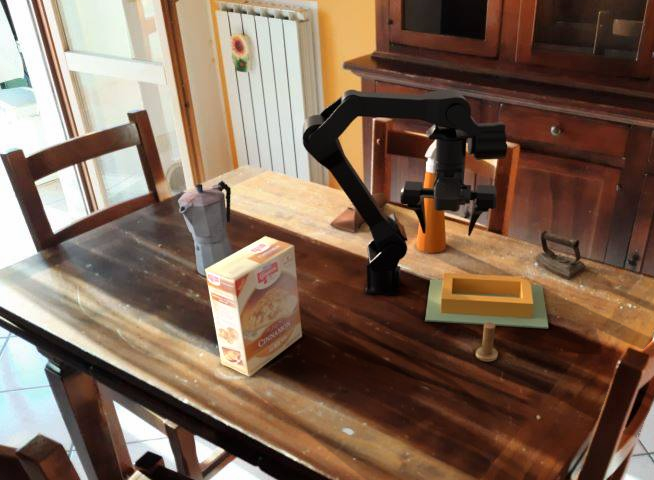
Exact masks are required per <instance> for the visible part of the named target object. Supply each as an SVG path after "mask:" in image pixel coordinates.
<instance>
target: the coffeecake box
mask: <svg viewBox="0 0 654 480" xmlns="http://www.w3.org/2000/svg"><path fill="white" fill-rule="evenodd" d="M205 272H206V276H205V277H206V284H207V287H208V288H207V289H208V293H209V299H210V304H211V310H212V316H213V322H214V327H215V334H216V339H217V344H218V350H219V356H220V361H221V365H223V366H225V367H227V368H230V369H232V370H235V371H236V372H238V373H240V374H242V375H245V376H247V377H252V376H253V375H254V374H256V373H257V372H258V371H259V370H260V369H262V368H263V367H264V366H266V365H267V364H268V363H270V362H271V361H272V360H274V359H275V358H276V357H277V356H279V355H280V354H281V353H283V352H284V351H285V350H286V349H288V348H289V347H290V346H292V345H293V344H294V343H295V342H297V341H298V340H300V339H301V338H302V337H303V331H302V320H301V311H300V298H299V286H298V275H297V263H296V254H295V245H293V244H291V243H289V242H285V241H282V240H278V239H276V238H272V237H269V236H267V235H264V236H263V237H261V238H260V239H258V240H256V241H254V242H252V243H251V244H249V245H246V246H245V247H243V248H242V249H240V250H237V251H235V252H234V254H232V255H231V256H229V257H227V258H225V259H223V260H221V261H220V262H218V263H216V264H214V265H212V266H211V267H209V268H207V269H205Z"/></svg>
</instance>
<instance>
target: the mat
mask: <svg viewBox="0 0 654 480" xmlns="http://www.w3.org/2000/svg"><path fill="white" fill-rule="evenodd" d="M442 285H443V279H430V280H429V287H428V295H427V303H426V311H425V318H424V319H425V320H424V322H429V323H430V322H433V323H448V324H449V323H450V324H451V323H452V324H463V325H478V326H479V325H481V326H484V324H485V323H487V322H491V323H494V324H495V327H496V326H498V327H513V328H528V329H529V328H531V329H546V330H548V329H549V321H548V314H547V309H546V302H545V296H544V289H543V285H535V284H531V289H532V297H533V311H532V318H519V317H502V316H485V315H468V314H451V313H441V296H442ZM452 294H459V295H476V296H494V297H512V298H519V296H518V295H500V294H483V293H465V292H452Z"/></svg>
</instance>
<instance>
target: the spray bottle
mask: <svg viewBox="0 0 654 480" xmlns="http://www.w3.org/2000/svg"><path fill="white" fill-rule="evenodd" d="M424 157H425V158H426V159H427V161H426V162H425V163H426V164H425V165H426V166H425V175H424V183H423V188H433V186H434V181H435V162H436V140H433V142H432V143H431V144H430V146H428V148H427V150H426V152H425V154H424ZM434 200H435V198H424V206H425V219H426V231H425V233H423V231H422V228H421V225H420V222H419V221H418V230H417V238H416V248H417V250H419V251H420V252H424V253H426V254H437V253H441V252H443V251H444V250H445V249H446V248H447V239H446V238H447V237H446V236H447V235H446V216H445V210H442V211H437V210H436V209H435V208H434Z"/></svg>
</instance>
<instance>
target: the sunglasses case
mask: <svg viewBox="0 0 654 480" xmlns="http://www.w3.org/2000/svg"><path fill="white" fill-rule="evenodd" d="M371 195H372V196H373V198H374V199H375V201H376V202H377V204H378V205H379V207H380V208H381V209H382V208H384V207H385V206H386V205H388V197H387V196H386V194H385V193H383V192H378V193H373V194H371ZM365 224H366V222H365V221H364V219H363V218H362V217H361V215H360V214H359V212H358V211H357V209H356V208H355V207H354V205H353V204H352V203H351V204H349V205H348V206H347V208H346V209H344V210H343V211H342V212H340V214H338V215H337V216H336V217H335V218H333V220H332V221H331V222H330V223H329V225H330V226H331V227H332V228H336V229H338V230H341V231H345V232H349V233H356V232H357V231H358V230H360V229H361V228H362V227H363V226H364V225H365Z"/></svg>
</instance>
